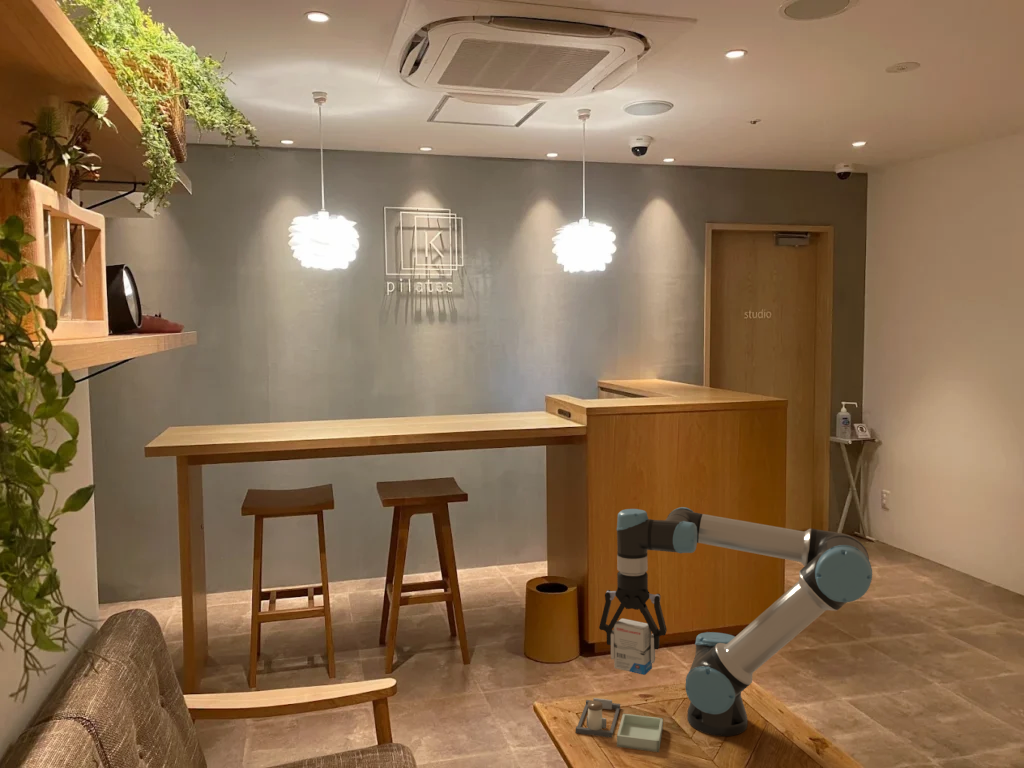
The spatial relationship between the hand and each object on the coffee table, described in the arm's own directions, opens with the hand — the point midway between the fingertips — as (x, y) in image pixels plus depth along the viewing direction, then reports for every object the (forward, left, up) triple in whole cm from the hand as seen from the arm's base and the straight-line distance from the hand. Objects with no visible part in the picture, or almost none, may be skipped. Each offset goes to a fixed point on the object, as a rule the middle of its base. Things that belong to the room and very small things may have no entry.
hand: (633, 659), depth 207 cm
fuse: (+9, +2, -19) cm, 21 cm away
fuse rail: (+9, -4, -19) cm, 22 cm away
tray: (-2, +2, -19) cm, 19 cm away
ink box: (0, 0, -3) cm, 3 cm away
